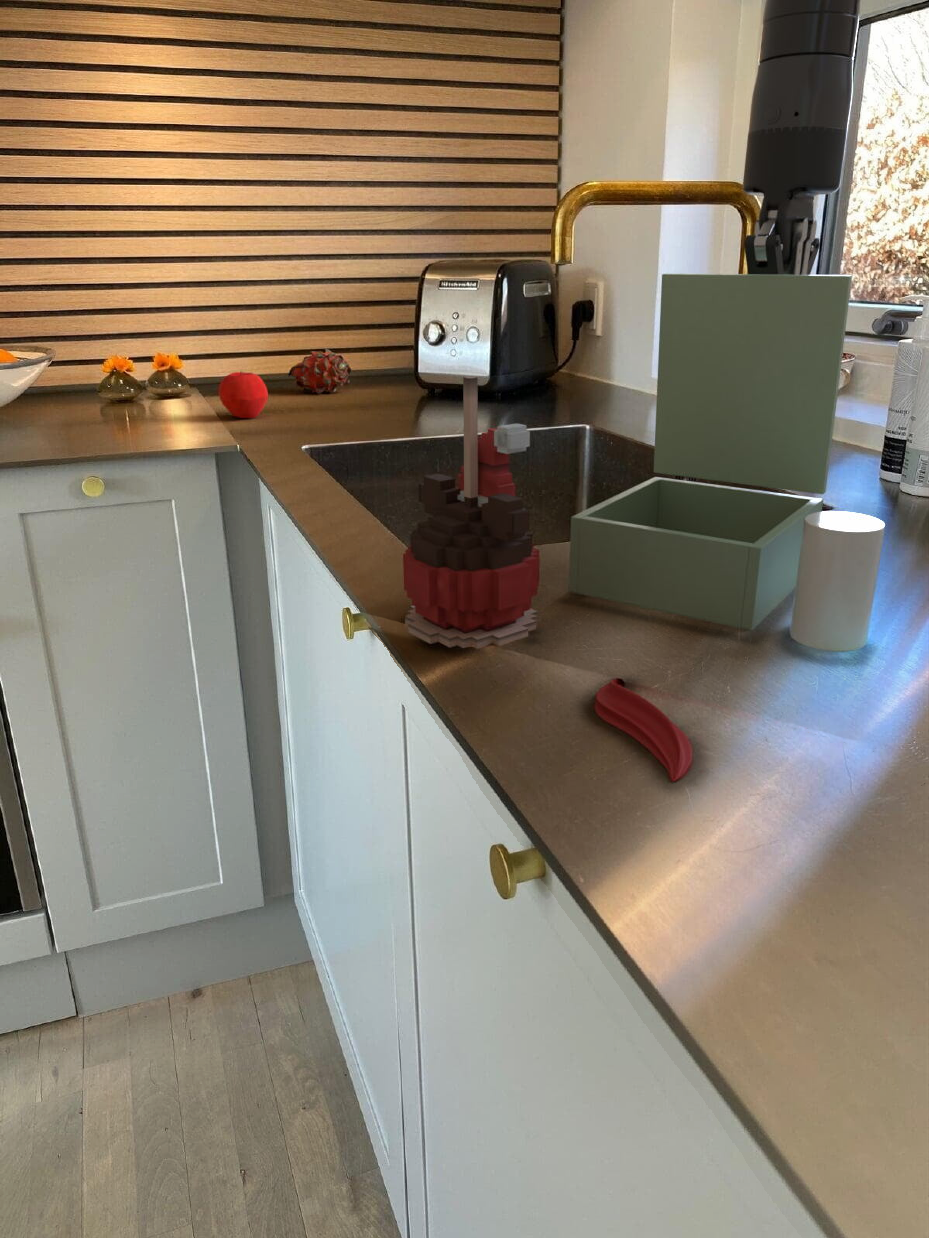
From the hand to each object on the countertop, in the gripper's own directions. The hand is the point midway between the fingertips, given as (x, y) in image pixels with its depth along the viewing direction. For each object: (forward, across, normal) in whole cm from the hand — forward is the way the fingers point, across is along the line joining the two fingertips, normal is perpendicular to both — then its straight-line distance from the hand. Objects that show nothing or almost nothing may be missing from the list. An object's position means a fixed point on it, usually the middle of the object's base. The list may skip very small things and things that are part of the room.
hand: (771, 354), depth 81 cm
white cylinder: (+18, -20, -12) cm, 29 cm away
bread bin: (+17, -14, 0) cm, 22 cm away
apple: (+17, +24, +92) cm, 96 cm away
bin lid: (+2, -7, 0) cm, 8 cm away
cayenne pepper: (+18, -38, -6) cm, 42 cm away
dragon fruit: (+16, +51, +100) cm, 113 cm away
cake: (+18, -31, +10) cm, 37 cm away
